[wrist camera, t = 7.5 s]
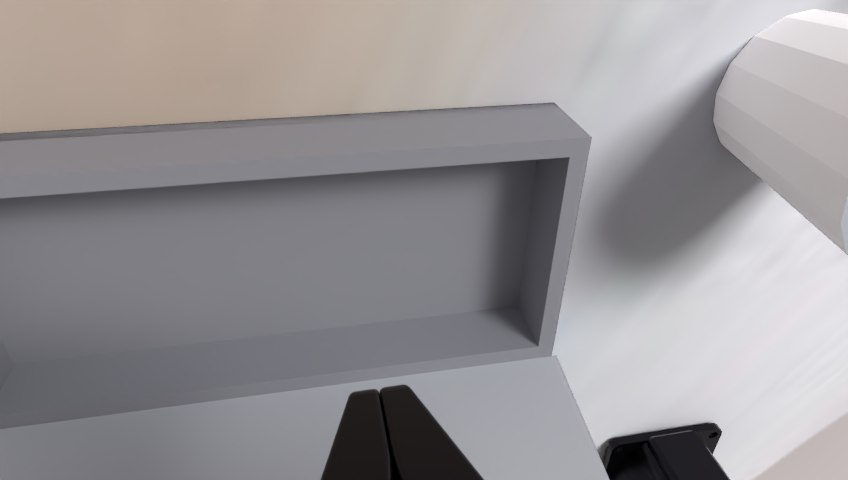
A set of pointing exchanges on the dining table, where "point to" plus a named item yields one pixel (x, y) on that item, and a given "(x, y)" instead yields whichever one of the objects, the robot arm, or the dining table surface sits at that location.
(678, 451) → the robot arm
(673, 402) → the dining table surface
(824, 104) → the shot glass
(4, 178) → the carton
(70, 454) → the lid flap
